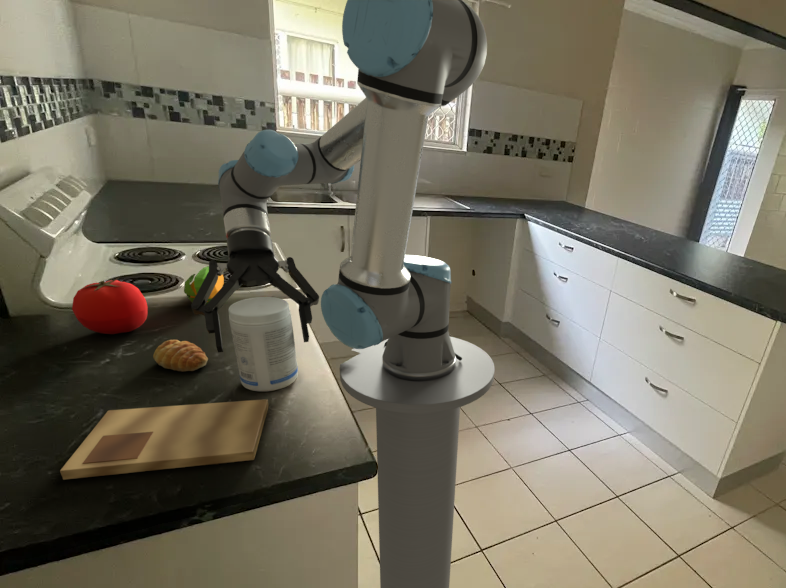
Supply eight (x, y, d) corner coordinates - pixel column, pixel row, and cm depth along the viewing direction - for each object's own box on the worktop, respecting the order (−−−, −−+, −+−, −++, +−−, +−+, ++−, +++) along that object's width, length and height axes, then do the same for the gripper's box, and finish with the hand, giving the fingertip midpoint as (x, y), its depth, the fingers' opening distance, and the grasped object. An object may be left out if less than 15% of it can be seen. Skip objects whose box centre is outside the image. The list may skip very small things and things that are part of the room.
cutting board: (268, 406, 79) (267, 398, 78) (254, 460, 67) (252, 450, 66) (110, 418, 72) (107, 409, 72) (62, 480, 60) (59, 470, 60)
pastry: (219, 363, 90) (216, 345, 89) (185, 378, 85) (181, 359, 83) (184, 351, 93) (180, 333, 92) (149, 365, 88) (144, 346, 86)
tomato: (161, 320, 105) (150, 272, 101) (140, 342, 95) (127, 289, 91) (96, 321, 102) (82, 271, 97) (68, 344, 92) (50, 289, 87)
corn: (176, 279, 107) (198, 256, 125) (179, 310, 110) (201, 283, 127) (213, 281, 110) (230, 258, 127) (216, 311, 113) (232, 285, 130)
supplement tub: (299, 366, 92) (291, 294, 86) (298, 390, 84) (290, 314, 78) (243, 370, 89) (231, 296, 83) (236, 396, 81) (223, 317, 75)
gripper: (318, 247, 97) (336, 342, 92) (172, 251, 86) (183, 361, 80) (321, 227, 91) (341, 328, 85) (164, 228, 79) (175, 346, 74)
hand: (264, 344), depth 83 cm, fingers open, 13 cm apart
